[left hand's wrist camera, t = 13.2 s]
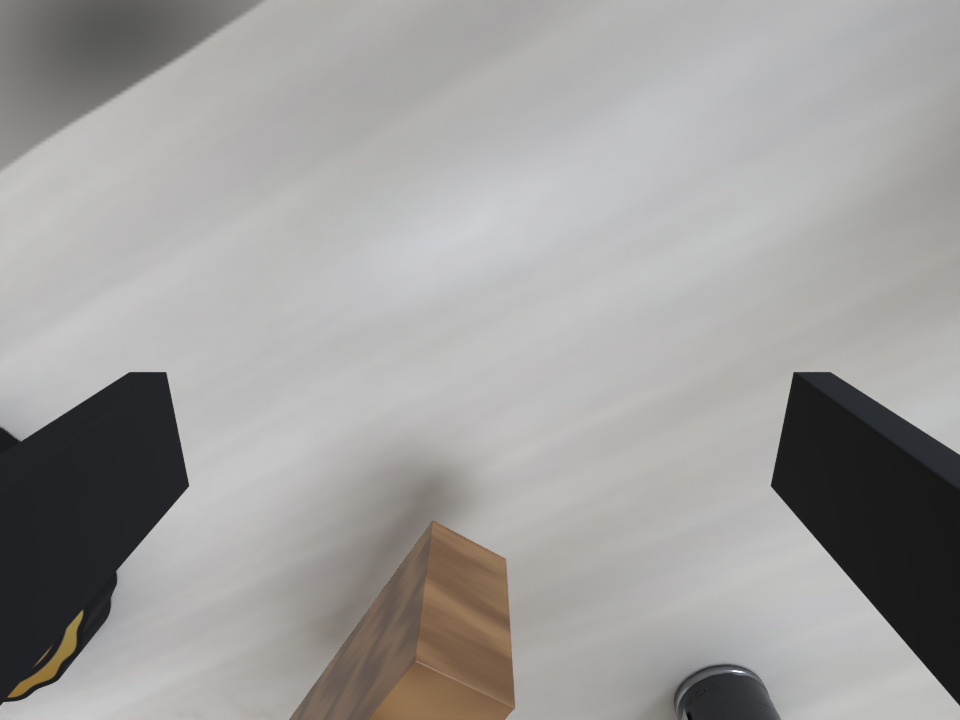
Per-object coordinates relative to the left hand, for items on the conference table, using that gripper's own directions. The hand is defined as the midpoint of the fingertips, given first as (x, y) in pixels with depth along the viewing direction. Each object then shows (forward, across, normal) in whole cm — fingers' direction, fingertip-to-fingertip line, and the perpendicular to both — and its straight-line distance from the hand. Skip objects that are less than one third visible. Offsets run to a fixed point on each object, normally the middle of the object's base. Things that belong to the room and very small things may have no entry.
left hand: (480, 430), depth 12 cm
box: (+23, -7, -31) cm, 39 cm away
